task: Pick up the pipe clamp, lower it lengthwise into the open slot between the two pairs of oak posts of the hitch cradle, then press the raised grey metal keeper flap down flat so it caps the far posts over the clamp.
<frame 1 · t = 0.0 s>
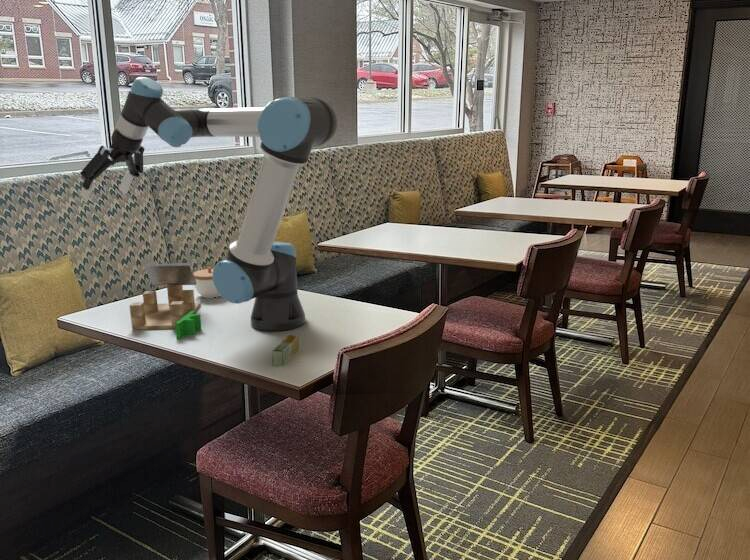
hand: (103, 194, 192), 36 cm above the table, tool tilted 35°, fingers open, 13 cm apart
medication box: (286, 358, 166), on the table
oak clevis: (165, 320, 196), on the table
keeper flap: (171, 274, 203), point 11 cm above the table, hinge at 55.0°
lidded jar: (211, 296, 221), on the table
pipe clamp: (190, 333, 185), on the table
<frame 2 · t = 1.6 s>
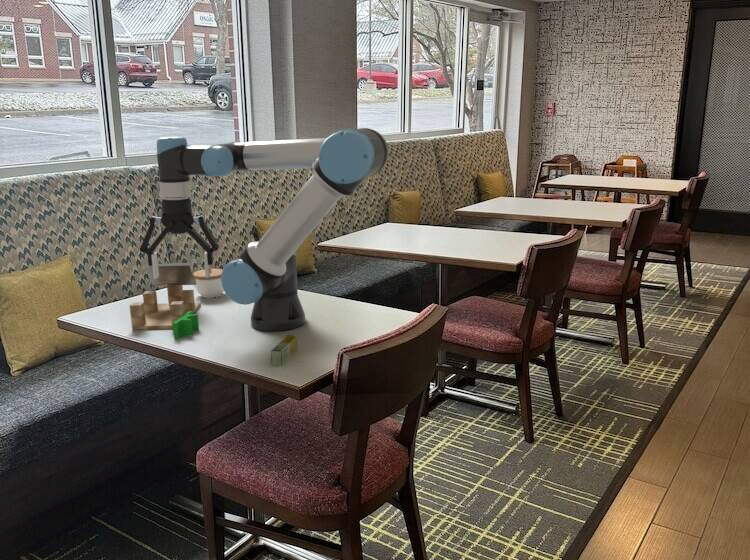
hand: (182, 277, 182), 15 cm above the table, tool pointing down, fingers open, 13 cm apart
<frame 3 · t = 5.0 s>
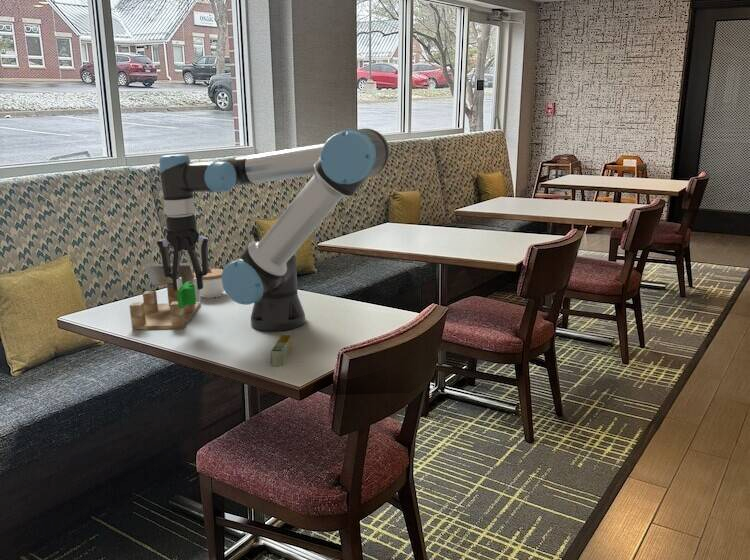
hand: (190, 301, 183), 9 cm above the table, tool pointing down, fingers closed on pipe clamp, 4 cm apart
pipe clamp: (190, 303, 183), point 8 cm above the table, touching gripper
when the fingers open (2 cm above the table, at t = 8.2 s): pipe clamp stays where it is, resting on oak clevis.
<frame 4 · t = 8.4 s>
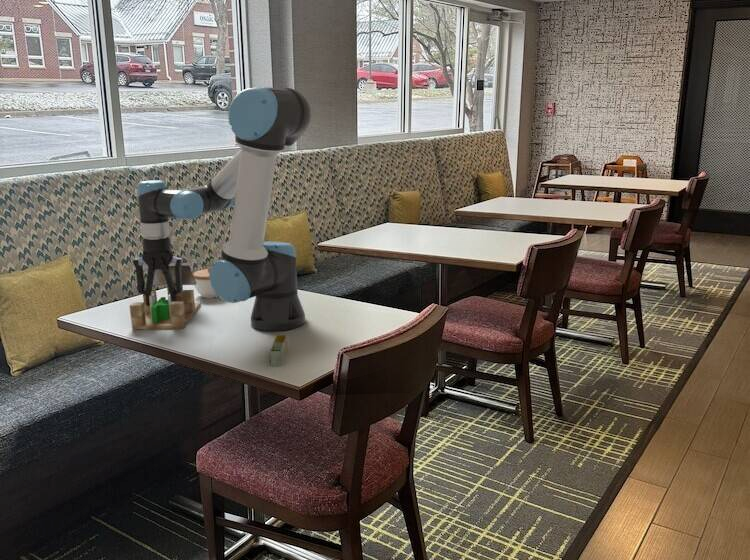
hand: (162, 316, 195), 1 cm above the table, tool pointing down, fingers open, 5 cm apart
pipe clamp: (164, 318, 196), point 1 cm above the table, touching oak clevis
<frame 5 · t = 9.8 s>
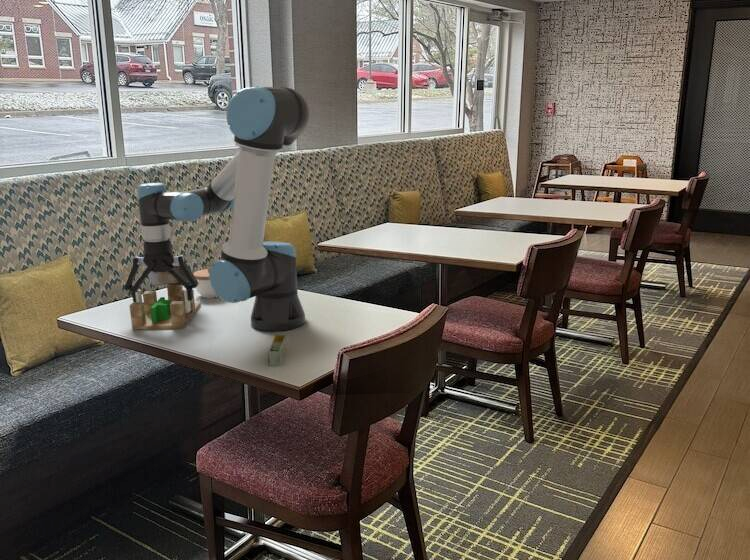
hand: (164, 312, 195), 3 cm above the table, tool pointing down, fingers open, 13 cm apart
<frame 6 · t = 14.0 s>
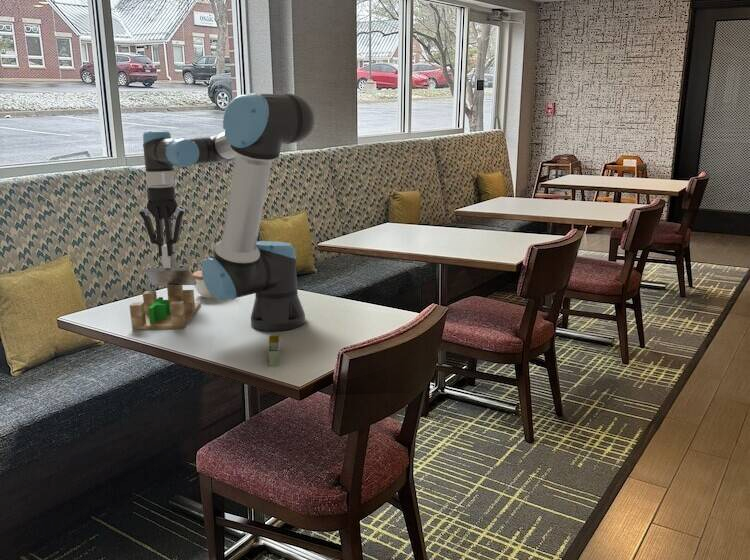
hand: (166, 267, 200), 14 cm above the table, tool pointing down, fingers closed
keeper flap: (170, 277, 203), point 10 cm above the table, hinge at 43.4°, touching gripper
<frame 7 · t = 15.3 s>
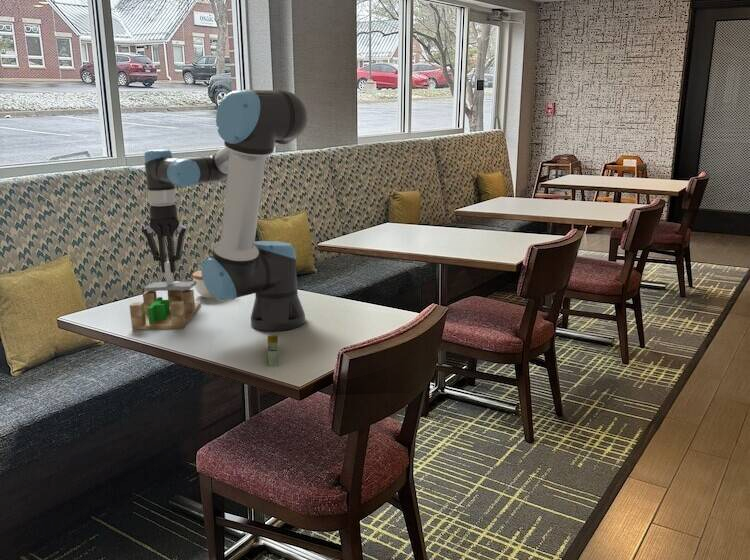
hand: (170, 283, 202), 9 cm above the table, tool pointing down, fingers closed
keeper flap: (170, 285, 203), point 8 cm above the table, hinge at 4.2°, touching gripper
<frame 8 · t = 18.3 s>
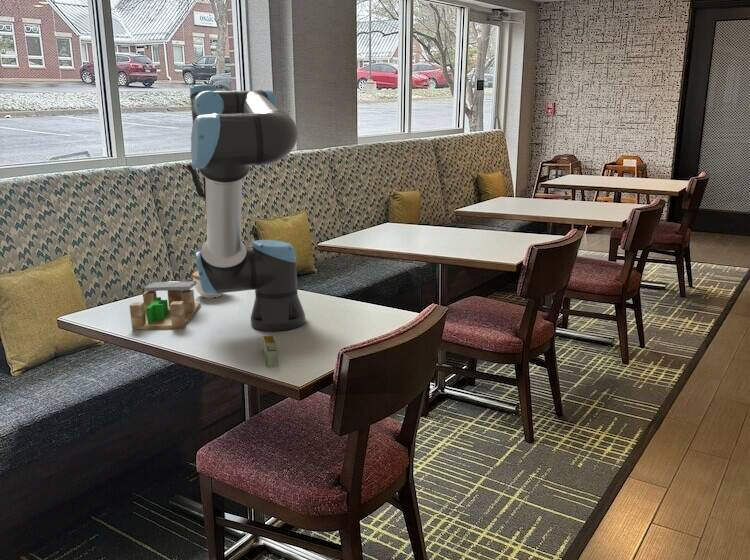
hand: (213, 220, 204), 26 cm above the table, tool pointing down, fingers closed
keeper flap: (170, 285, 203), point 8 cm above the table, hinge at 4.1°
at the end: pipe clamp inside the target area on the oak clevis (1.6 cm from its centre), point 0.8 cm above the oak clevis's base; keeper flap at +4° (first picture: +55°); the gripper is holding nothing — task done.
